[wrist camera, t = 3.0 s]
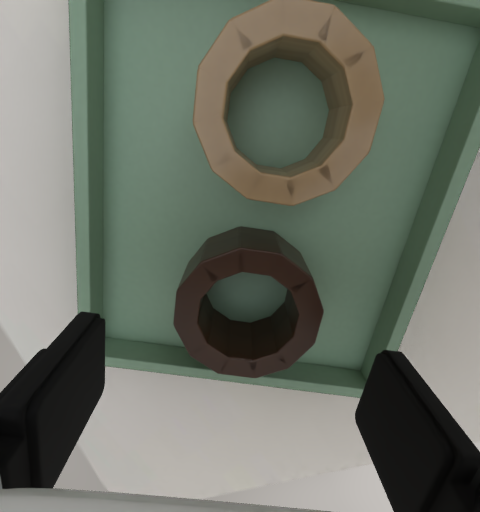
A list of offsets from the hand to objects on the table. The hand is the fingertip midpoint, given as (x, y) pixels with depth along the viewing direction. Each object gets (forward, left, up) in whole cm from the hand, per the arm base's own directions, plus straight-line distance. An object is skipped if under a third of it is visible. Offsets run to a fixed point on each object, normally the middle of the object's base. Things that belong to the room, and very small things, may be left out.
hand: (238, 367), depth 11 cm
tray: (-4, 0, -6) cm, 7 cm away
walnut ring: (0, 0, -5) cm, 5 cm away
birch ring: (-8, 0, -5) cm, 10 cm away
